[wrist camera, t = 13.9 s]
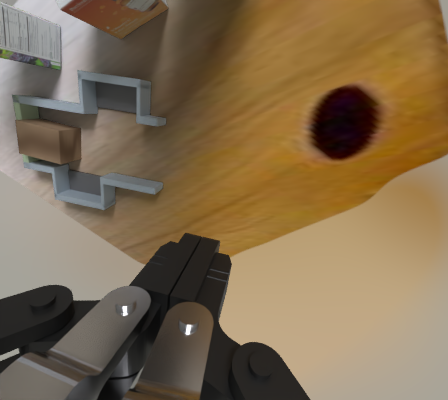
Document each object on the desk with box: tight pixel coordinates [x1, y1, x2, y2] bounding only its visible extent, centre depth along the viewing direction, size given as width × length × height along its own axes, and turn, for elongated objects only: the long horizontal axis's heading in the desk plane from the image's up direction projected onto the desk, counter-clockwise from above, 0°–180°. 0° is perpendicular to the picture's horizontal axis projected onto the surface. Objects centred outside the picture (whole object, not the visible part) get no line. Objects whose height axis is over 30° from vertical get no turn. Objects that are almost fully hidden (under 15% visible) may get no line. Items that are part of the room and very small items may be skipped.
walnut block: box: [15, 119, 81, 164], centre depth 38 cm, size 5×7×4 cm
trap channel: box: [12, 70, 166, 210], centre depth 38 cm, size 20×22×3 cm
